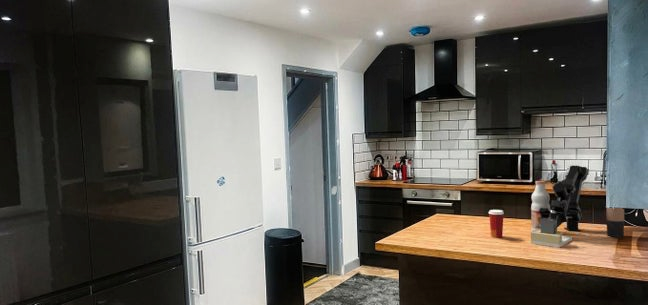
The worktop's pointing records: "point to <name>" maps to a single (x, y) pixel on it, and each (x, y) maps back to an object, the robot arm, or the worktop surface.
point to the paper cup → (496, 223)
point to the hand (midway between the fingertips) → (555, 227)
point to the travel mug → (615, 222)
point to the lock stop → (548, 226)
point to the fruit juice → (539, 204)
